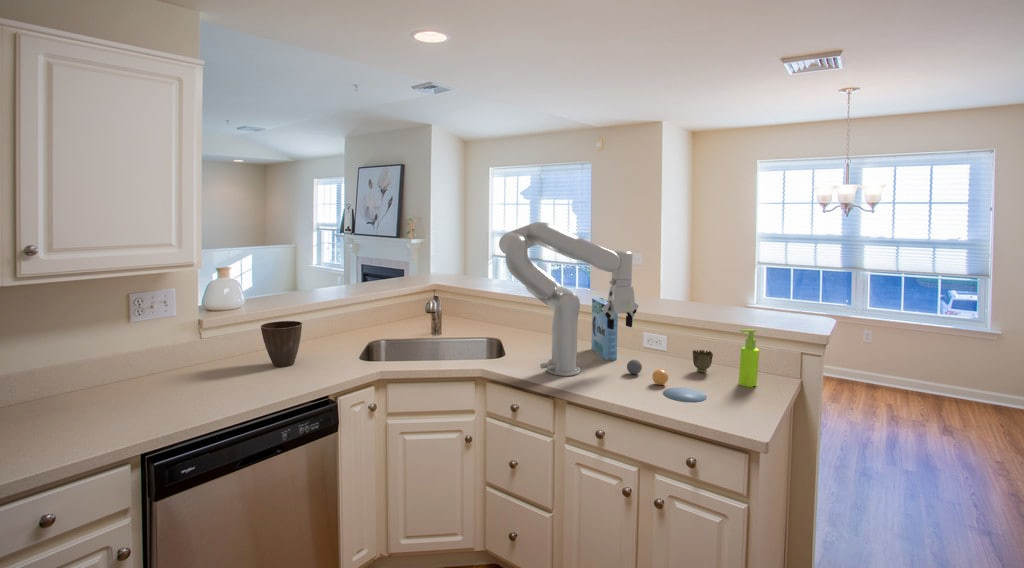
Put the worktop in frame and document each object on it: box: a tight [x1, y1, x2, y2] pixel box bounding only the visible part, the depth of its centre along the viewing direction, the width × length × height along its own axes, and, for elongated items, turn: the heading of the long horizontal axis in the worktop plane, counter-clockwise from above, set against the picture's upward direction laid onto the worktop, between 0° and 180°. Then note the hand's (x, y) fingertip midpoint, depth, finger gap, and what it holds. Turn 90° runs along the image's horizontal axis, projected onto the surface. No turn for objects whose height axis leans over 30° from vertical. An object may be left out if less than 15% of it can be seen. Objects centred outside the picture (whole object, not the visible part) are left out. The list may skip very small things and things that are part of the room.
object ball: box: [652, 368, 669, 386], centre depth 198 cm, size 6×6×6 cm
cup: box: [692, 349, 714, 374], centre depth 213 cm, size 8×7×8 cm
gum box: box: [591, 297, 619, 361], centre depth 237 cm, size 20×5×23 cm, turn 10°
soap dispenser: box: [738, 328, 760, 388], centre depth 198 cm, size 6×7×20 cm
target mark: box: [662, 387, 708, 403], centre depth 188 cm, size 14×14×1 cm
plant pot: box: [260, 320, 303, 368], centre depth 218 cm, size 15×15×16 cm
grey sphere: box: [626, 359, 643, 375], centre depth 210 cm, size 6×6×6 cm
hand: (619, 327), depth 216 cm, fingers open, 8 cm apart
